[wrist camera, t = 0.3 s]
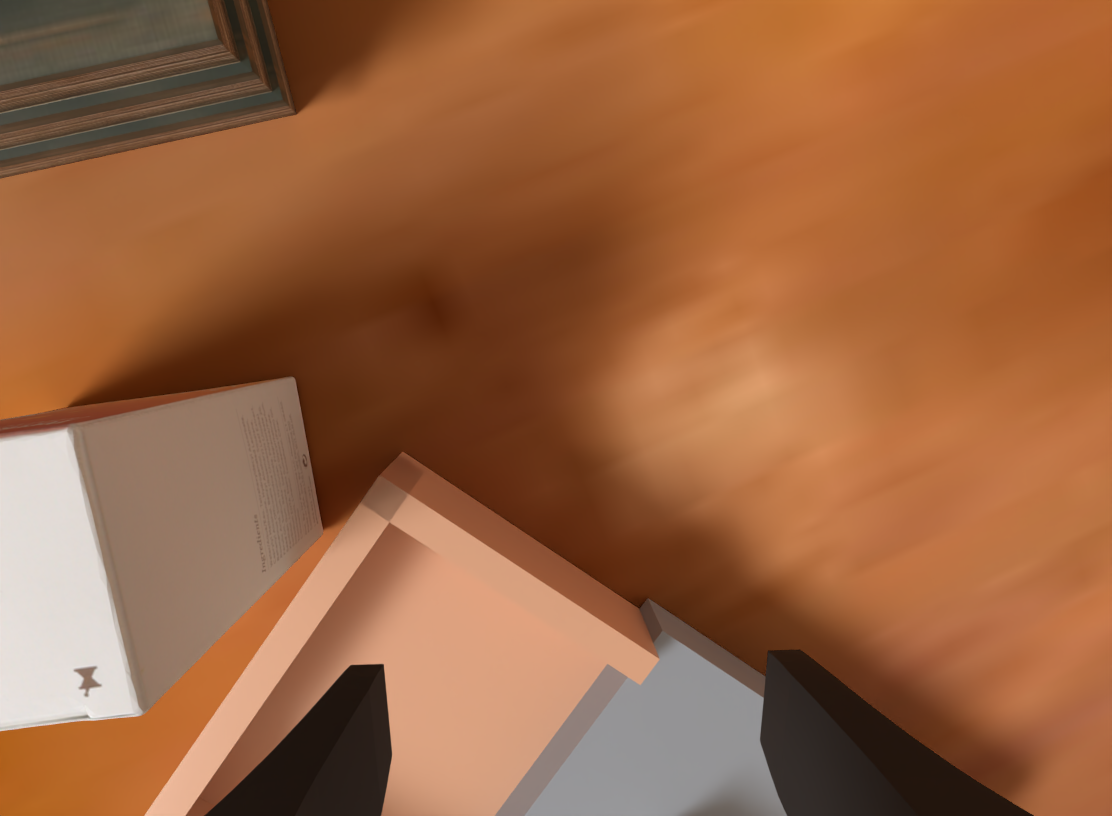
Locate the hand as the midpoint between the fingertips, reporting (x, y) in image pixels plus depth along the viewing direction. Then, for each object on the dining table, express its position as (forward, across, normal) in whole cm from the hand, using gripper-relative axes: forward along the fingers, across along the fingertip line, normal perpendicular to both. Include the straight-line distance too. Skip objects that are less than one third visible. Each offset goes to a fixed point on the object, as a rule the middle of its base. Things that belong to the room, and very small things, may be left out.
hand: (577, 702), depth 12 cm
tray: (+9, +6, +8) cm, 13 cm away
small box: (+11, +12, -1) cm, 16 cm away
